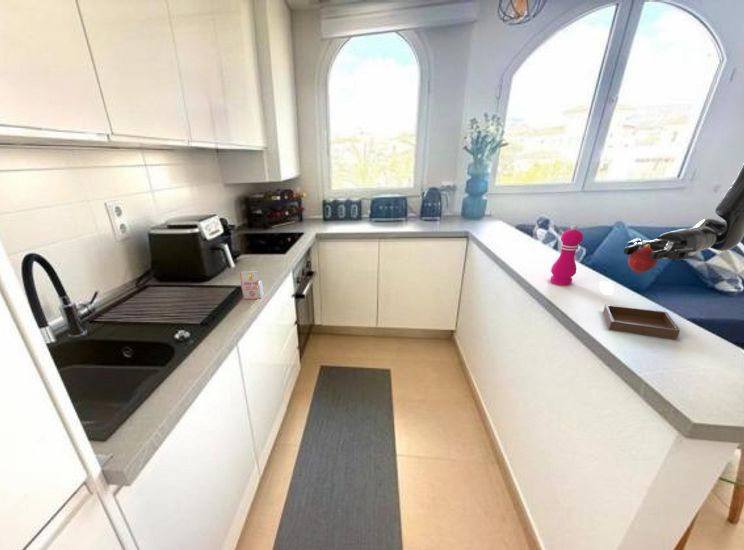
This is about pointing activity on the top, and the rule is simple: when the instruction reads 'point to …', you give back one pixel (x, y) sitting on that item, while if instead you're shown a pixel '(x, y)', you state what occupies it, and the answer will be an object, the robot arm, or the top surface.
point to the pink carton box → (251, 285)
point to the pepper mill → (566, 257)
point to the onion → (641, 259)
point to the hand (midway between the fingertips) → (639, 253)
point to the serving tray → (640, 321)
